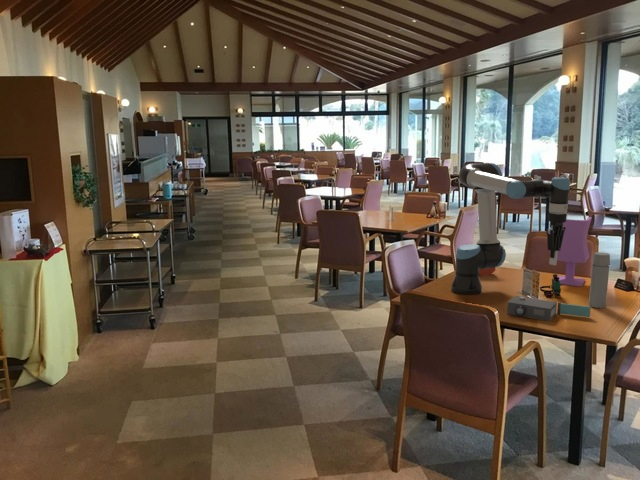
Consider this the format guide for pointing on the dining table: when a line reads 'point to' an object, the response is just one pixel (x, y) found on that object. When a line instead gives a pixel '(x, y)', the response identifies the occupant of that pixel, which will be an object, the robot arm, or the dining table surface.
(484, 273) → the french fries container
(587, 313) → the side door
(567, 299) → the dining table surface
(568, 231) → the purple table lamp
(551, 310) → the block
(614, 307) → the dining table surface
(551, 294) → the binoculars
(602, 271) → the water bottle
